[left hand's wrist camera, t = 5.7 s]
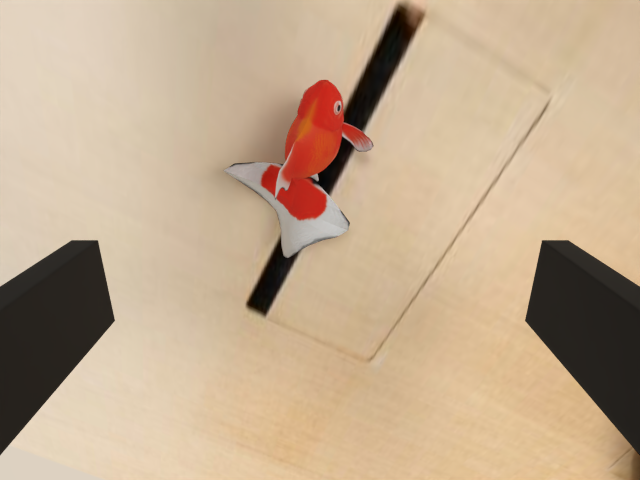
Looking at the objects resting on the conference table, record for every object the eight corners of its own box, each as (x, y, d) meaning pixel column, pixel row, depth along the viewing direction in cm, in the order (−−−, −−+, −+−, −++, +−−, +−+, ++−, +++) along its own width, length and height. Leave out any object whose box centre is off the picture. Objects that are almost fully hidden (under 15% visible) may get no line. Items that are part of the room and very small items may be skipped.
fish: (433, 138, 32) (383, 183, 25) (335, 247, 43) (280, 301, 36) (334, 49, 33) (258, 68, 26) (262, 178, 44) (194, 217, 37)
